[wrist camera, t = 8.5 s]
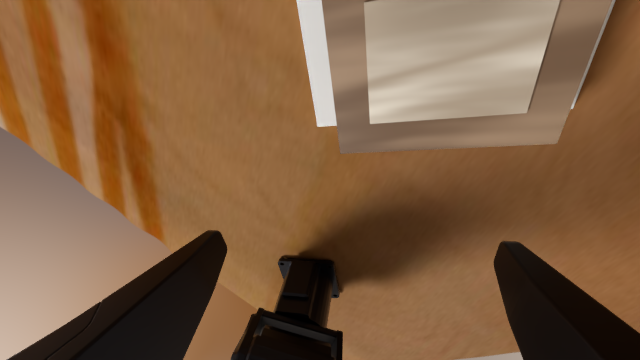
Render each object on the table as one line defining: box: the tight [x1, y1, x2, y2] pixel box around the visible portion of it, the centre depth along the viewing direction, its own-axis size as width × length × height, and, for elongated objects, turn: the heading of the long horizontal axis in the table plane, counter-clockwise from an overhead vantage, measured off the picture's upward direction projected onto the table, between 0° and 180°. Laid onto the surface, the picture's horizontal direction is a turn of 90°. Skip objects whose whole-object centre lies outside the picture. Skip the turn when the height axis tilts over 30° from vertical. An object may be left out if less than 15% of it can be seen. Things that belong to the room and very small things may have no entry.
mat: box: [297, 0, 615, 127], centre depth 15 cm, size 11×16×1 cm
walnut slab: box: [322, 0, 612, 154], centre depth 14 cm, size 3×12×10 cm
